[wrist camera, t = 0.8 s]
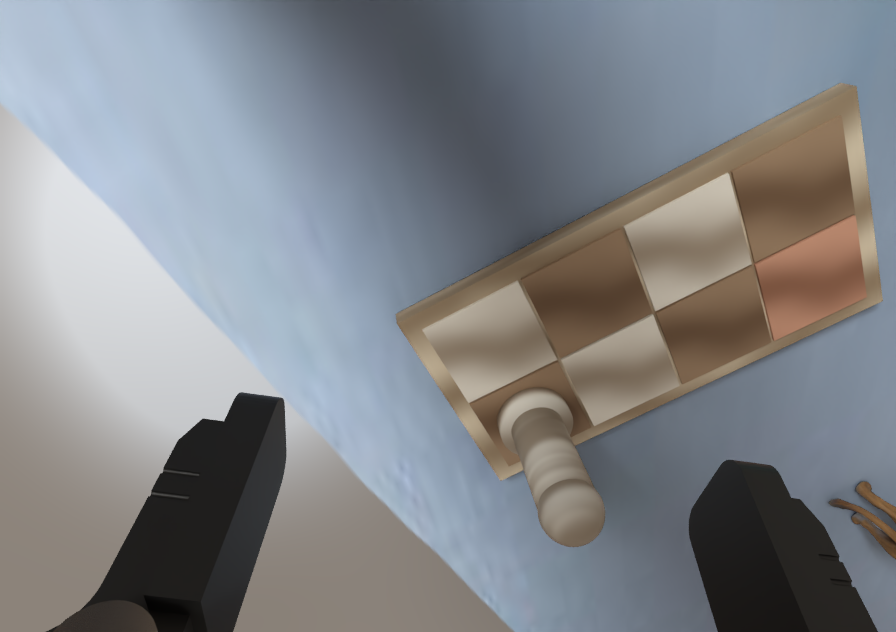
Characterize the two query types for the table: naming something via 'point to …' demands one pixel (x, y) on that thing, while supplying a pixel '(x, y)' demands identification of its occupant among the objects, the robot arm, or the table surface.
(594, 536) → the pawn
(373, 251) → the table surface
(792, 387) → the table surface
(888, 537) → the lion figurine
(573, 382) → the board
